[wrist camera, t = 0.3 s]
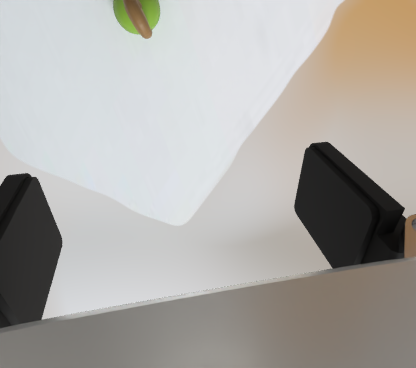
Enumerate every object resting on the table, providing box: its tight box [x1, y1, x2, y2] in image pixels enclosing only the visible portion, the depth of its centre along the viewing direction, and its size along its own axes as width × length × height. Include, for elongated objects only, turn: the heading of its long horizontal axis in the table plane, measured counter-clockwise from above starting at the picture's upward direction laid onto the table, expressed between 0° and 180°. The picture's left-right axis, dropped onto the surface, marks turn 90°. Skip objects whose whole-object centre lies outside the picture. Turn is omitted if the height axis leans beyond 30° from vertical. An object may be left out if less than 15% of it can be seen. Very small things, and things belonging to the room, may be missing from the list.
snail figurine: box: [113, 0, 160, 39], centre depth 33 cm, size 5×6×12 cm
